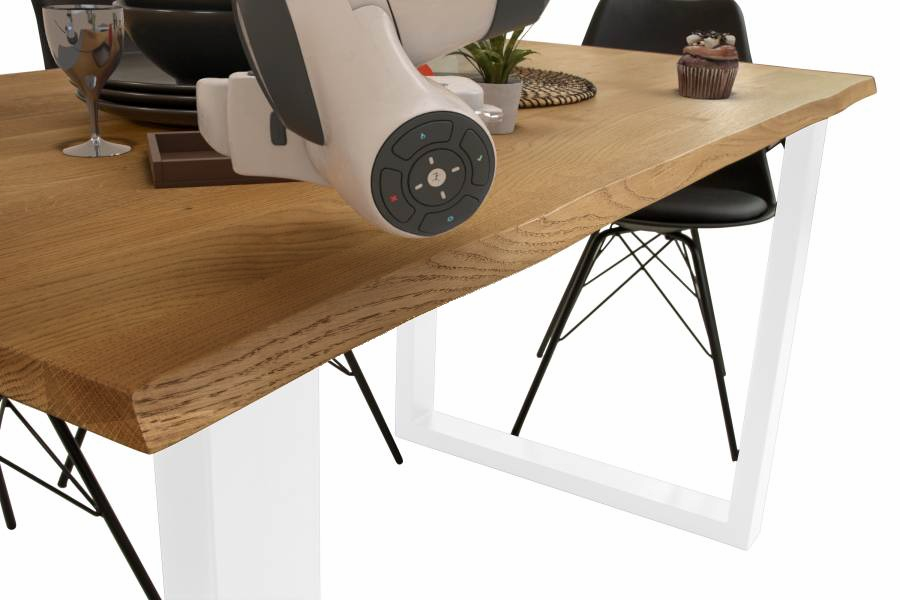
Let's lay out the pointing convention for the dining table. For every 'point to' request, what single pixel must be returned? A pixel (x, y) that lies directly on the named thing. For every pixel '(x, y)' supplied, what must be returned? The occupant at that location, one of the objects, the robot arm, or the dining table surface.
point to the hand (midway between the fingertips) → (323, 91)
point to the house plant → (499, 76)
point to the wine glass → (87, 59)
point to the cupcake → (708, 66)
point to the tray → (193, 163)
